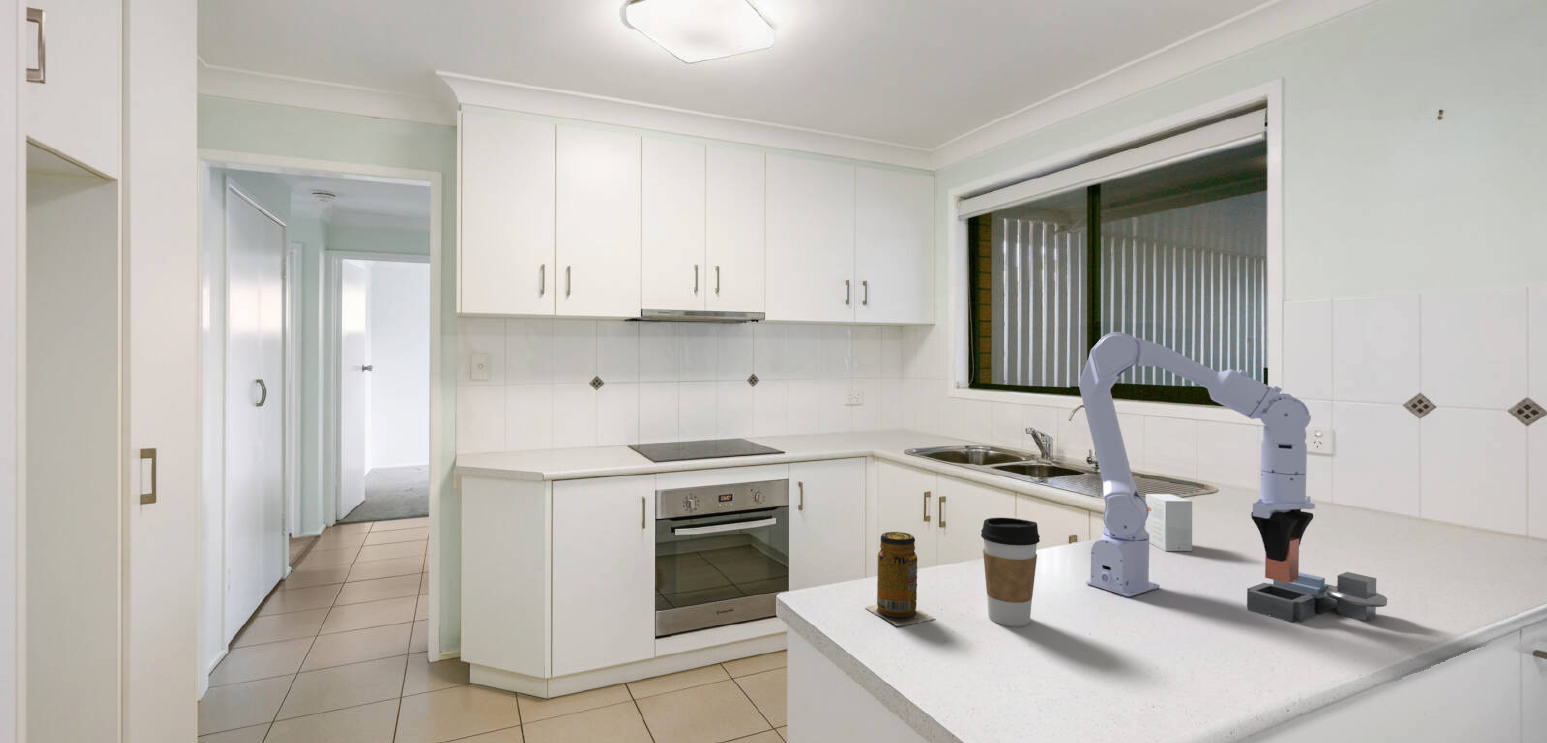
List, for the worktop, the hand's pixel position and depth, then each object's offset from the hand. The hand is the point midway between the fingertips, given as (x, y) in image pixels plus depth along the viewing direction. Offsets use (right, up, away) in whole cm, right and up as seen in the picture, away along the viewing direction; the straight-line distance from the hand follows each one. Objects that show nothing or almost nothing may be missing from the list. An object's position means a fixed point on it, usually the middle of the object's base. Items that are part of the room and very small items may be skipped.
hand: (1281, 558), depth 105 cm
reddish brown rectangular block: (0, -3, 0) cm, 3 cm away
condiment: (-60, -8, -2) cm, 61 cm away
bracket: (+7, -9, +5) cm, 12 cm away
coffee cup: (-44, -8, -4) cm, 45 cm away
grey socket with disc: (+6, -8, 0) cm, 10 cm away
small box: (+4, -8, +37) cm, 38 cm away
